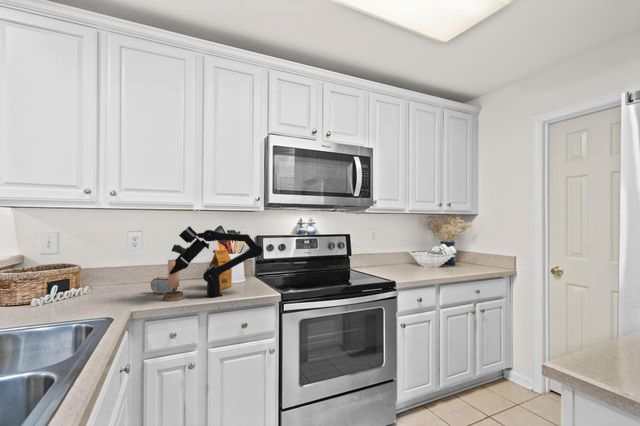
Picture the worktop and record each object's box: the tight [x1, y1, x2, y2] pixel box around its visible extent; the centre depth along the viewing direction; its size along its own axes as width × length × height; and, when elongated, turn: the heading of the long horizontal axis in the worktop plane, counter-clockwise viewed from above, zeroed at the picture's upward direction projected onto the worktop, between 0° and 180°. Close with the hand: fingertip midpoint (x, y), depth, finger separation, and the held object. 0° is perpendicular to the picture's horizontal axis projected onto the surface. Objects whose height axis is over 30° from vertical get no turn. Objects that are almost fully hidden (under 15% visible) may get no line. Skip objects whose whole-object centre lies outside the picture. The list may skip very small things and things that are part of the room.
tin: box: [150, 276, 178, 295], centre depth 175 cm, size 15×3×8 cm, turn 74°
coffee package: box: [208, 248, 233, 291], centre depth 187 cm, size 10×12×22 cm
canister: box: [167, 258, 180, 288], centre depth 162 cm, size 5×5×13 cm
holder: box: [162, 290, 184, 302], centre depth 162 cm, size 9×9×3 cm
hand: (170, 273), depth 162 cm, fingers closed on canister, 5 cm apart
